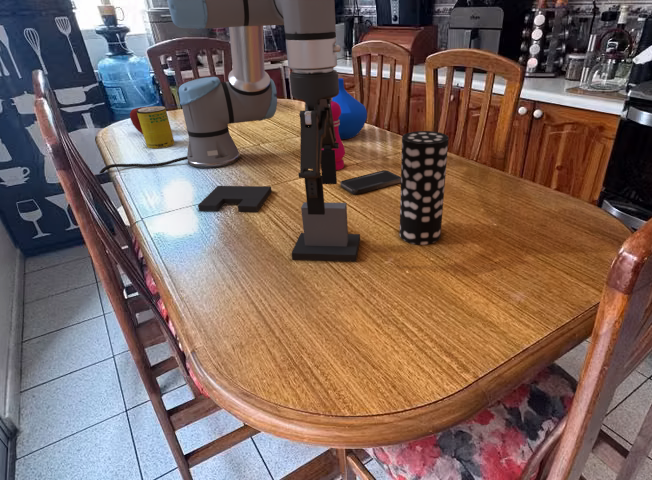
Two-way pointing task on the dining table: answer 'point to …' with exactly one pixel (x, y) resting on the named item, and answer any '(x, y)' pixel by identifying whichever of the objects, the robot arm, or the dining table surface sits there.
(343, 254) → the tab pad
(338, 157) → the pepper mill
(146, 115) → the yellow can
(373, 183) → the phone
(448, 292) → the dining table surface
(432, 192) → the spotted tube
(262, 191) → the notch pad
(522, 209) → the dining table surface
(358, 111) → the vase
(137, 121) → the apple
